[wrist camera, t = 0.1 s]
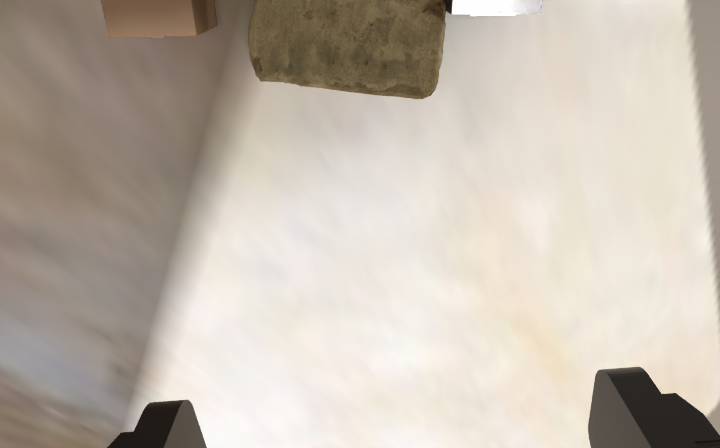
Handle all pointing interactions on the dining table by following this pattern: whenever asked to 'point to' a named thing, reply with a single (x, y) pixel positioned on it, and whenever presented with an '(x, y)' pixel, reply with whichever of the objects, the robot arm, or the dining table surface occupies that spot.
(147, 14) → the cardboard box
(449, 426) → the dining table surface
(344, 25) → the stone block
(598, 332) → the dining table surface
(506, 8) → the charcoal block
